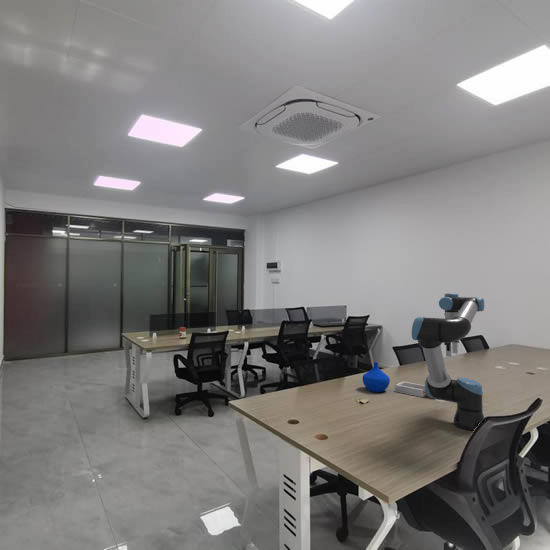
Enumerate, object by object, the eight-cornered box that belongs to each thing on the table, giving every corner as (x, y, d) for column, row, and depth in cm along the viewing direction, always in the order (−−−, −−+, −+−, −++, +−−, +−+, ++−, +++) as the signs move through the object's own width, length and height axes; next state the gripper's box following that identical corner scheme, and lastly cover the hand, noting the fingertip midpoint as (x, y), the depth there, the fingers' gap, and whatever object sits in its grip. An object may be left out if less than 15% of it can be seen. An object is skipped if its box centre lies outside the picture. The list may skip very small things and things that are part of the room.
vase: (380, 395, 235) (380, 366, 235) (357, 389, 248) (357, 362, 249) (394, 390, 247) (394, 363, 247) (372, 385, 260) (372, 358, 261)
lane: (429, 392, 243) (429, 386, 243) (423, 397, 233) (423, 390, 233) (402, 387, 255) (402, 381, 255) (395, 391, 245) (395, 385, 245)
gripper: (450, 317, 224) (450, 351, 224) (438, 320, 206) (438, 357, 205) (463, 318, 220) (464, 352, 219) (452, 320, 201) (453, 358, 200)
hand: (451, 355), depth 212 cm, fingers open, 13 cm apart
